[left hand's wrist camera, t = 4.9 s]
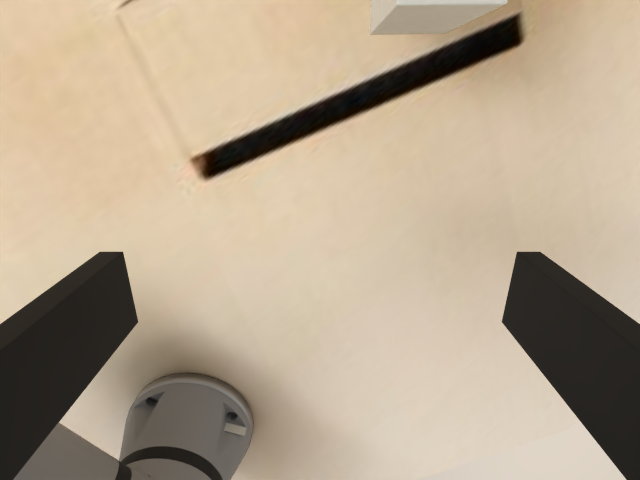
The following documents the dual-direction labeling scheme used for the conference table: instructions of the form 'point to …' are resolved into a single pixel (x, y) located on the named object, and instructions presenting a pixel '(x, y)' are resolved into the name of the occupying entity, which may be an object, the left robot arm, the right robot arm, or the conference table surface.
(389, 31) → the bar
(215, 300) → the conference table surface
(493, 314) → the conference table surface
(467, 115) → the conference table surface
